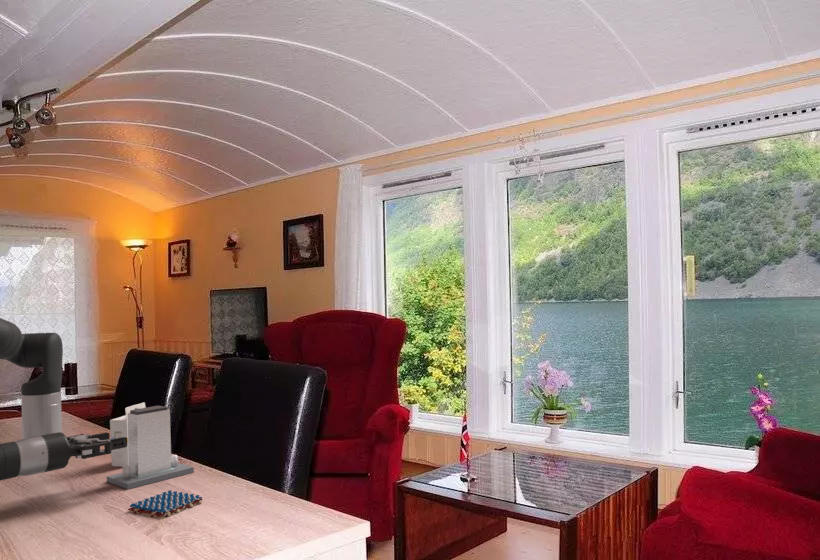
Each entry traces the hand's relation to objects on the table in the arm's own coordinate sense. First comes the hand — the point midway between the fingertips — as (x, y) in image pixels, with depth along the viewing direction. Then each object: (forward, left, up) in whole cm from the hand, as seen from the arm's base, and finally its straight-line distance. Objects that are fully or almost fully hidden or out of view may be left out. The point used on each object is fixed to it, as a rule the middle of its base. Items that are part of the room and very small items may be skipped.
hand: (117, 439), depth 144 cm
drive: (-5, +5, -9) cm, 12 cm away
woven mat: (+18, +15, -11) cm, 26 cm away
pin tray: (-5, +5, -10) cm, 13 cm away
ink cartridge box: (-20, -5, -10) cm, 23 cm away
